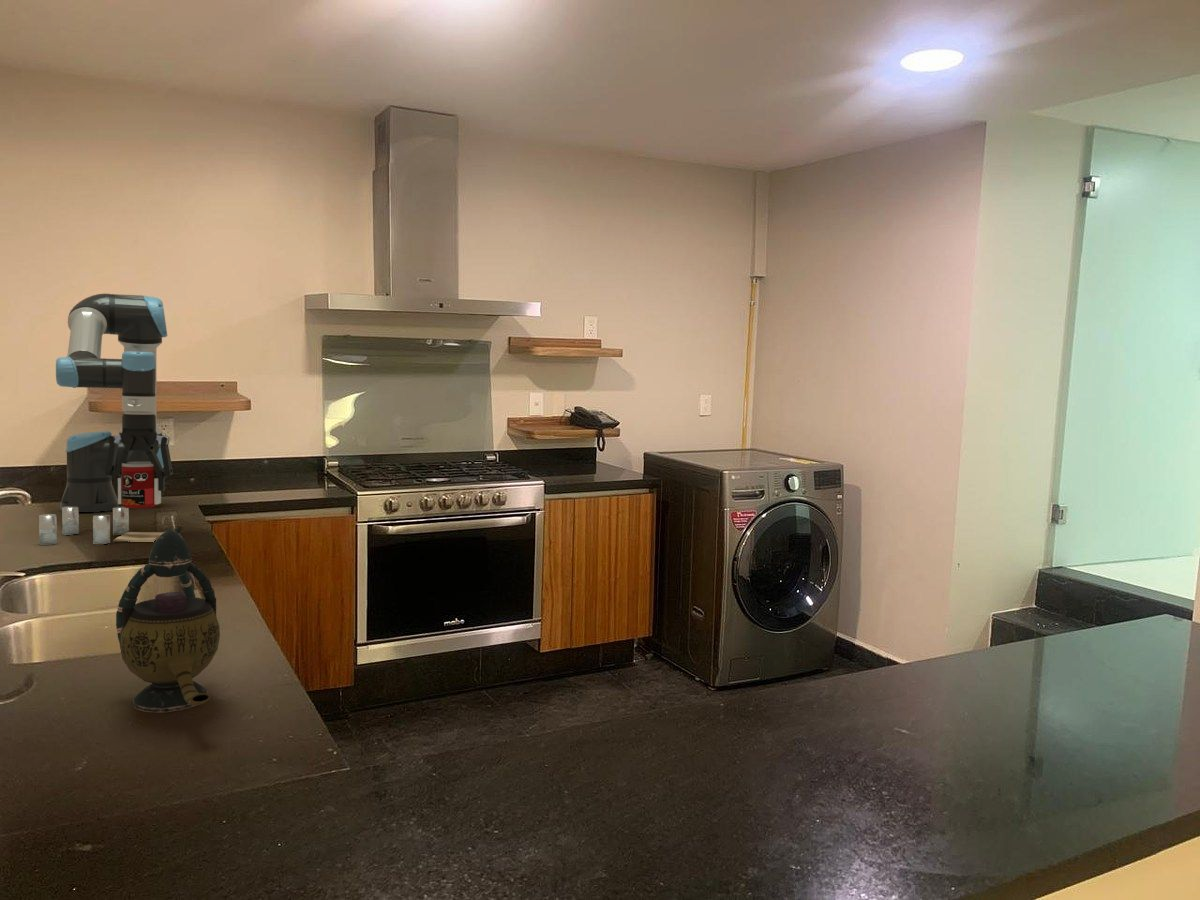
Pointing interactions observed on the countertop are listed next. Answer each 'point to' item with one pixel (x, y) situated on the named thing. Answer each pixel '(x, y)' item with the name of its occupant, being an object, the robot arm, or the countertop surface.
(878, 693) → the countertop surface
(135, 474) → the canned food
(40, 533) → the cylinder
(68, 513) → the cylinder
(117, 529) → the cylinder
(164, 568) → the teapot
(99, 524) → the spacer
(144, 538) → the coaster
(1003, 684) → the countertop surface
